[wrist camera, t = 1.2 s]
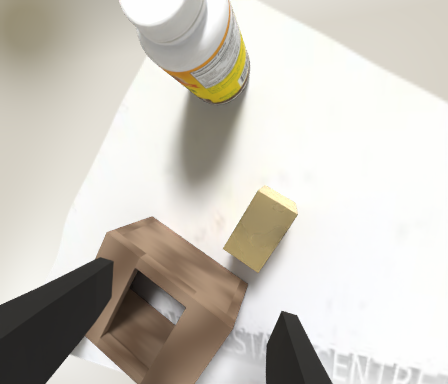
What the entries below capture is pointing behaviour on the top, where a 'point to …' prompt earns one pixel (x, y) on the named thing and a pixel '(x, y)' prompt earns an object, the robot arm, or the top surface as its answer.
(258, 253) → the block
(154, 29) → the supplement bottle
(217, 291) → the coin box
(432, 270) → the top surface
